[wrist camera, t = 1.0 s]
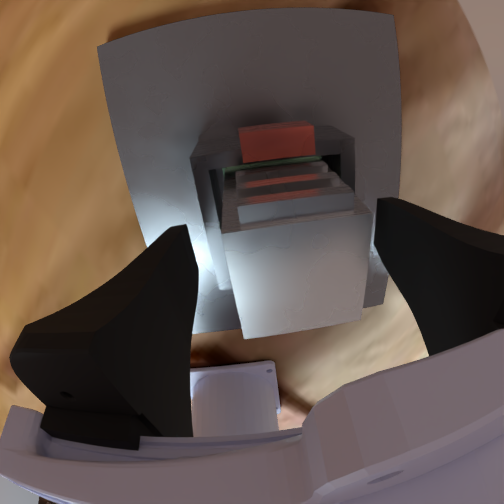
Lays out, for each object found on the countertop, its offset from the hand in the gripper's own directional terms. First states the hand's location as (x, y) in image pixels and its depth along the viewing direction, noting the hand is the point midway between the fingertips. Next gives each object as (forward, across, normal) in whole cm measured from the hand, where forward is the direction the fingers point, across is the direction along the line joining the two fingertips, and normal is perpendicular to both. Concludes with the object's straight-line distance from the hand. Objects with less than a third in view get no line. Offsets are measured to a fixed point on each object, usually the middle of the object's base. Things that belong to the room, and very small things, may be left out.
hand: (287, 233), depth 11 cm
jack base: (+5, 0, 0) cm, 5 cm away
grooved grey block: (+4, 0, 0) cm, 4 cm away
